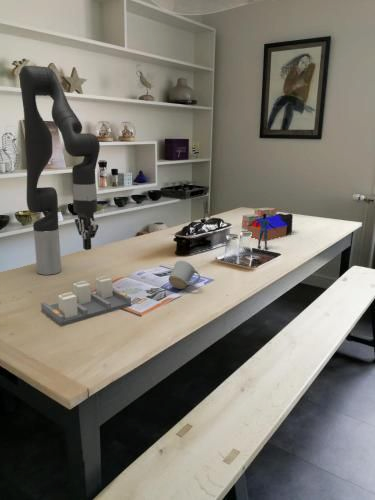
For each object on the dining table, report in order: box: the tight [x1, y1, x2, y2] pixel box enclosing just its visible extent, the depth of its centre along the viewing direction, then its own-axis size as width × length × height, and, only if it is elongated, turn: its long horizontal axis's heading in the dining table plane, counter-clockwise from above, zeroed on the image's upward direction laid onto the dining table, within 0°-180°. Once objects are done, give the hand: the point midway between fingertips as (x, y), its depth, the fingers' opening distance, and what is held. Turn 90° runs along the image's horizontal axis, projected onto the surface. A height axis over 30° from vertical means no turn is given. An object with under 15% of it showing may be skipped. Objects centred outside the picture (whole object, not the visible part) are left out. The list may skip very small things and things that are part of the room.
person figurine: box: [256, 214, 276, 251], centre depth 202 cm, size 11×4×18 cm, turn 52°
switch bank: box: [40, 287, 132, 327], centre depth 132 cm, size 14×24×3 cm, turn 131°
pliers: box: [202, 197, 211, 220], centre depth 238 cm, size 10×1×20 cm, turn 144°
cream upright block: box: [57, 291, 78, 319], centre depth 124 cm, size 4×4×7 cm
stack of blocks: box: [241, 207, 278, 231], centre depth 248 cm, size 21×6×12 cm, turn 122°
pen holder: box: [275, 213, 293, 235], centre depth 235 cm, size 9×9×10 cm
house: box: [247, 215, 288, 242], centre depth 227 cm, size 12×20×12 cm, turn 130°
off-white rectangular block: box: [72, 280, 92, 305], centre depth 133 cm, size 4×4×7 cm
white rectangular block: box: [94, 275, 113, 299], centre depth 139 cm, size 4×4×7 cm
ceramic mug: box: [168, 260, 201, 290], centre depth 149 cm, size 11×8×8 cm
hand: (87, 249), depth 139 cm, fingers closed
